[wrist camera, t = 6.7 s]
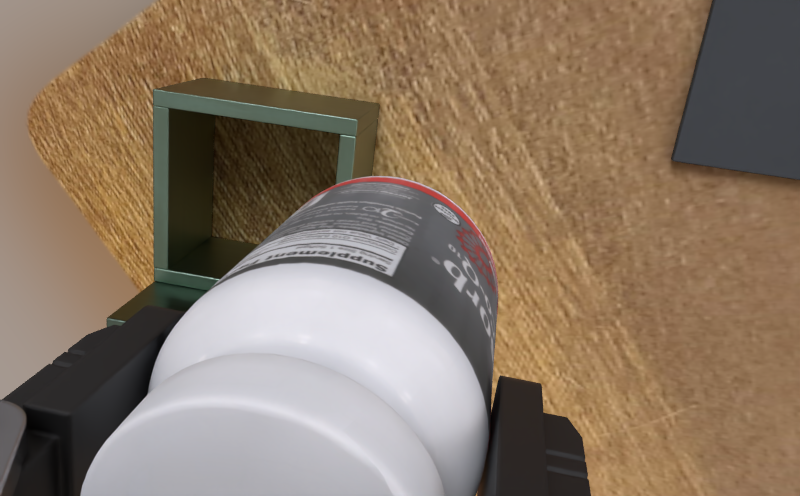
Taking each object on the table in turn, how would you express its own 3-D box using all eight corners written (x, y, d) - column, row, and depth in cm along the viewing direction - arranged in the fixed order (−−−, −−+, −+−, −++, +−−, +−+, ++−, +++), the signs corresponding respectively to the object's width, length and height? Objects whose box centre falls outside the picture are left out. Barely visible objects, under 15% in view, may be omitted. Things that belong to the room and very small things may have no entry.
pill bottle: (506, 375, 18) (496, 759, 9) (299, 379, 19) (97, 726, 10) (490, 159, 16) (458, 357, 7) (263, 178, 17) (-23, 370, 8)
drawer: (202, 77, 34) (99, 101, 25) (380, 103, 33) (333, 137, 24) (198, 263, 37) (106, 339, 29) (359, 292, 36) (312, 378, 28)
